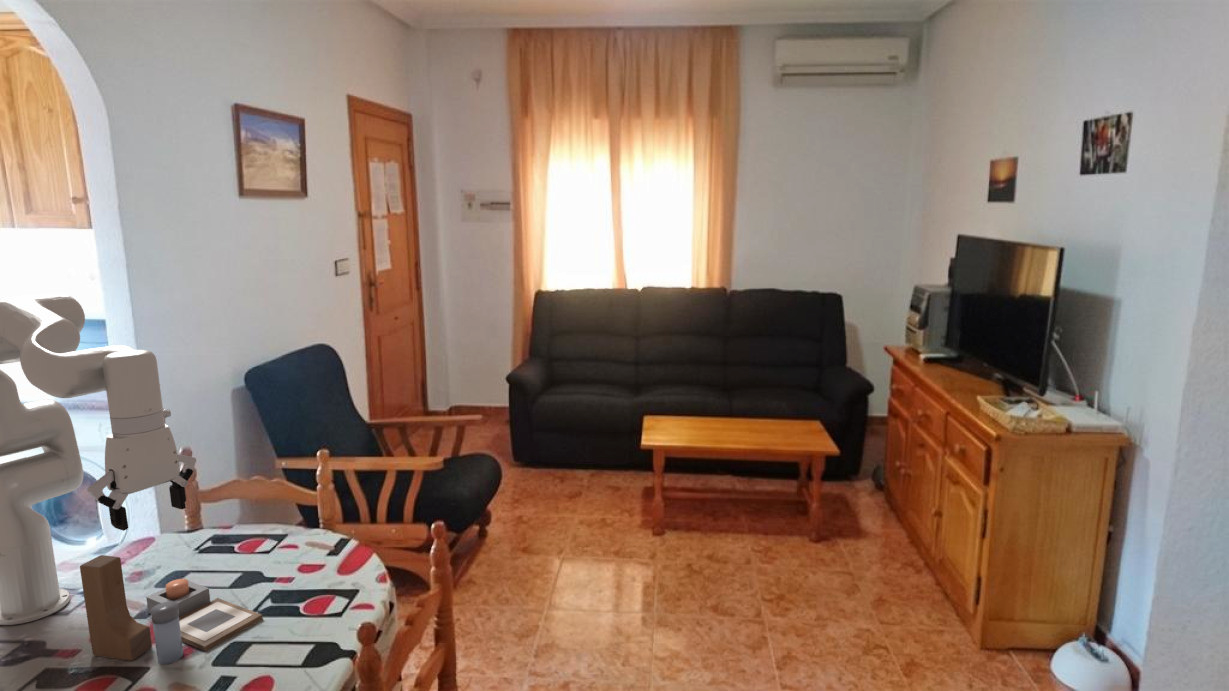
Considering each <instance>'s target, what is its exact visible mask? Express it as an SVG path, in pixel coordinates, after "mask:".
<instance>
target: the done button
mask: <svg viewBox="0 0 1229 691" xmlns="http://www.w3.org/2000/svg"><path fill="white" fill-rule="evenodd" d="M188 581H189V580H188V579H187V578H177V579H174V580H170V581H169V582H168V583H166V584H165V586H164V588H166V595H167V599H169V600H177V599H179V598H181V597H183V596H185V595H187V594H189V584H188Z"/></svg>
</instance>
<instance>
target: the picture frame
mask: <svg viewBox="0 0 1229 691" xmlns="http://www.w3.org/2000/svg"><path fill="white" fill-rule="evenodd" d="M263 618H264V617H263V614H261V613H259V612H256V611H254V610H250V609H248V608H246V607H243V606H241V605H237V604H235V603H233V602H229V601H226V600H224V599H221V598H220V597H219V598H218V597H217V598H214V599H212V600H210V602H209V603H207V604H205V605H203V606H201V607H199V608H197V609H195V610H193V611H191V612H189V613H187V614H185V615H183V616H181V617H179V623H180V631H181V639H182V643H185V644H187V645H190V646H192V647H194V648H197V649H199V650H201V651H203V652H206V651H209V650H210V649H213V648H214V647H216V646H218V645H219V644H221V643H222V642H224V641H227V640H229V639H230V638H232V637H234V636H235V635H237V634H239V633H241V632H242V631H244V630H246V629H247V628H250V627H251V626H253V625H255V624H257V623H258V622H260V621H262V620H263Z"/></svg>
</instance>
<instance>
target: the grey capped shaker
mask: <svg viewBox="0 0 1229 691" xmlns="http://www.w3.org/2000/svg"><path fill="white" fill-rule="evenodd" d="M150 618H151V623H152V627H153V634H154V642H155V643H154V644H155V651H156V657H157V658H156V659H157V663H158V664H160V665H169V664H173V663H175V662H177V661H179V660H181V659H182V657H183V656H184V650H183V642H182V639H181V631H180V623H179V609H178V603H177V602H174V601H169V602H163V603H160V604H158V605H156V606H154V607H153V608H152V609H151V614H150Z"/></svg>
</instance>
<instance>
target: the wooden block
mask: <svg viewBox="0 0 1229 691" xmlns="http://www.w3.org/2000/svg"><path fill="white" fill-rule="evenodd" d="M122 568H123V567H122V559H121V557H119V556H113V555H105V554H104V555H103V554H101V555H100V554H99V555H98V556H97V557H95V558H92V559H91V560H89V561H87V562H84V563H82V564H80V566H79V570H80V577H81V585H82V592H83V597H84V598H83V599H84V605H85V611H86V618H87V624H88V634H89V640H90V645H91V646H90V647H91V653H92V655H93V656H95V657H102V658H111V659H117V660H122V661H123V660H124V661H128V662H129V661H130V662H133V661H135V660H136V659H137V658H139V657H140V656H142V655H143V654H145V653H146V652H147V651H149V650H151V649H152V647H153V645H152V644H153V643H152V637H151V628H150V626H149V625H146V624H142V623H140V622H138V621H136V619H135V618H133V616H132V615H131V613H130V611H129V608H128V604H127V598H126V589H125V583H124V576H123V569H122Z"/></svg>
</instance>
